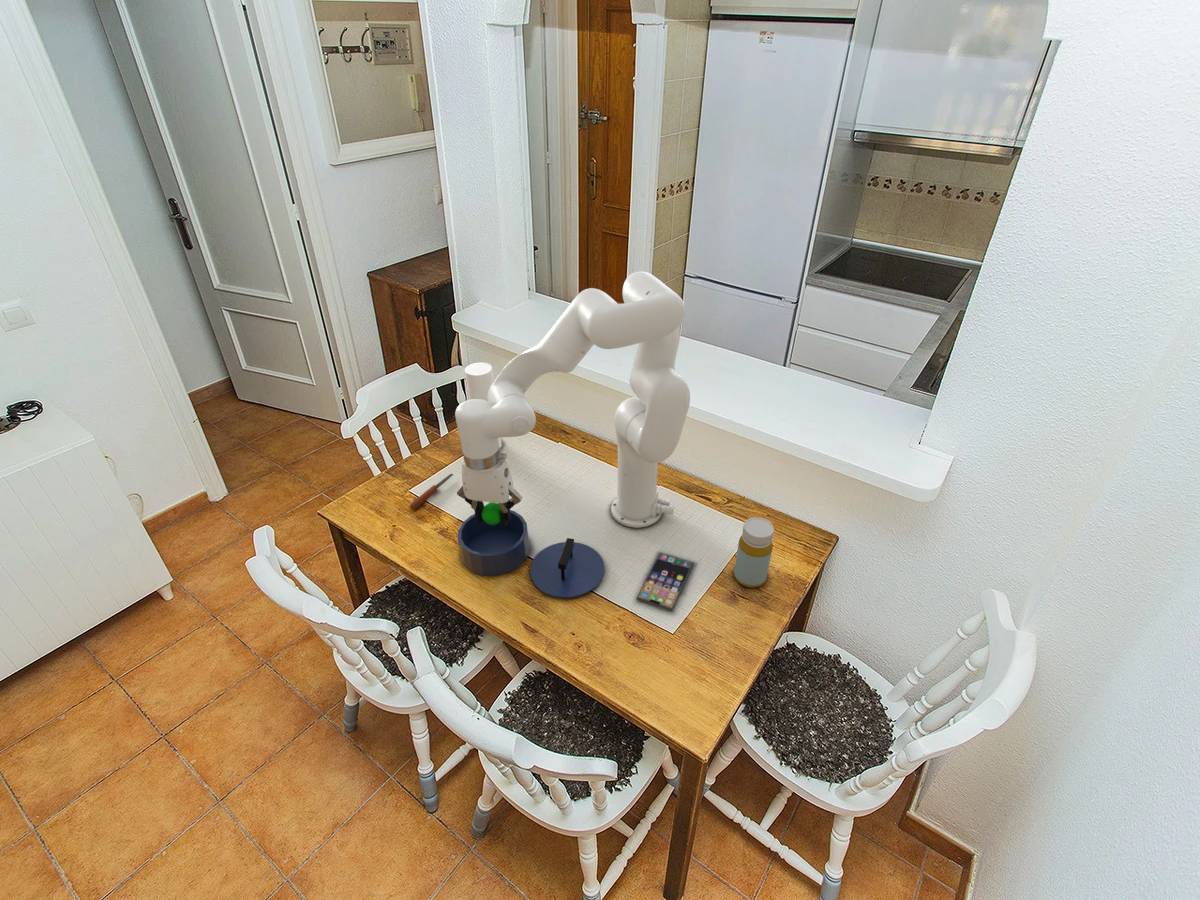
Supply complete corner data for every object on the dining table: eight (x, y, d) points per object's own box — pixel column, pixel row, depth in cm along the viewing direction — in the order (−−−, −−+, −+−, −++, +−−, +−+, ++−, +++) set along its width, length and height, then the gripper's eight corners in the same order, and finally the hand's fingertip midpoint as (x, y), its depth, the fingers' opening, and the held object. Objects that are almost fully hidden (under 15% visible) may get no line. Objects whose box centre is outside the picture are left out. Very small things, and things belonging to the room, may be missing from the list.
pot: (537, 532, 152) (535, 512, 148) (517, 581, 140) (514, 560, 136) (476, 524, 155) (472, 504, 151) (451, 571, 142) (446, 550, 139)
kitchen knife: (414, 511, 159) (413, 505, 158) (410, 510, 159) (408, 504, 158) (455, 477, 170) (454, 471, 169) (451, 476, 170) (450, 470, 169)
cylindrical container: (496, 454, 178) (486, 376, 164) (472, 451, 179) (460, 374, 165) (505, 440, 184) (495, 363, 169) (481, 437, 185) (470, 361, 170)
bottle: (759, 593, 136) (769, 543, 127) (728, 581, 139) (736, 531, 130) (770, 573, 141) (780, 523, 132) (740, 561, 144) (749, 511, 135)
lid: (610, 550, 147) (610, 530, 143) (596, 605, 134) (595, 584, 130) (542, 540, 150) (540, 520, 146) (520, 593, 137) (518, 573, 133)
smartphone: (693, 564, 143) (693, 560, 142) (672, 612, 132) (672, 609, 131) (659, 554, 146) (660, 550, 145) (636, 601, 135) (636, 597, 134)
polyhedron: (509, 522, 142) (506, 506, 139) (489, 532, 139) (486, 516, 137) (498, 510, 145) (495, 495, 142) (479, 519, 143) (476, 503, 140)
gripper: (526, 449, 133) (535, 513, 143) (450, 441, 136) (464, 505, 146) (515, 470, 127) (525, 536, 137) (436, 462, 130) (452, 527, 141)
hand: (493, 519), depth 142 cm, fingers closed on polyhedron, 5 cm apart
